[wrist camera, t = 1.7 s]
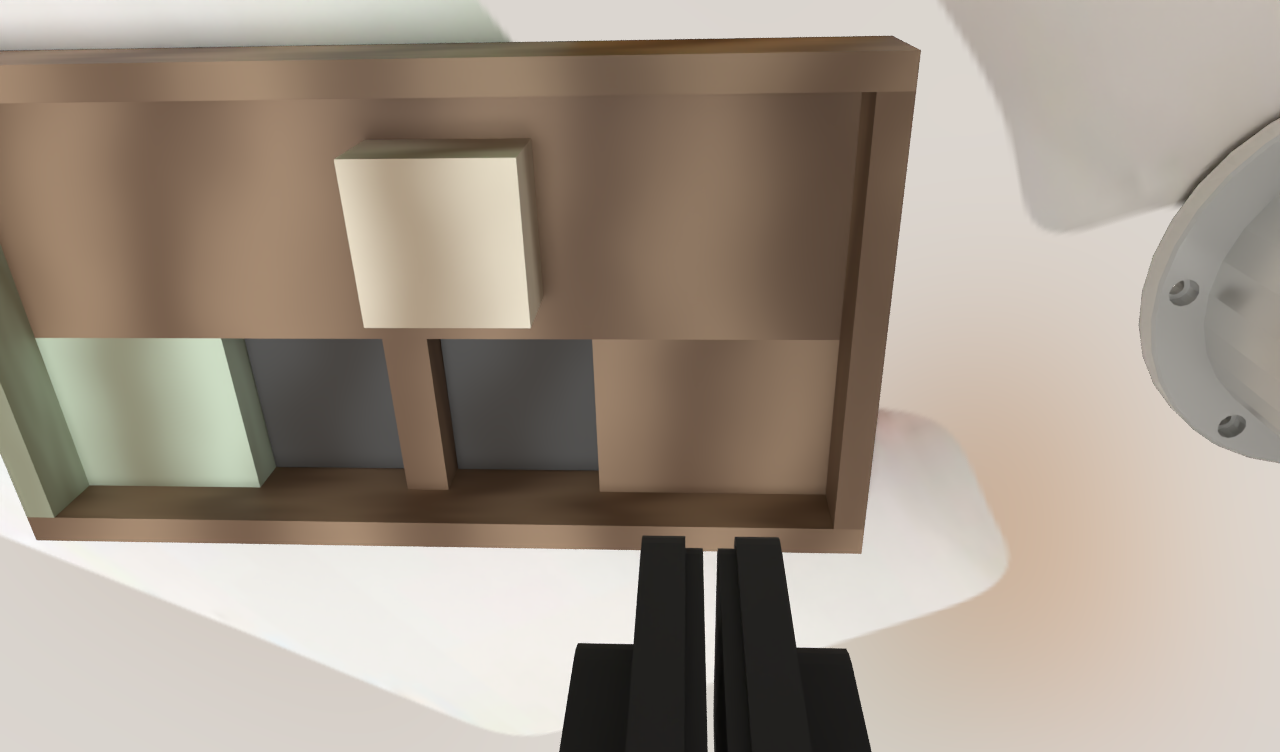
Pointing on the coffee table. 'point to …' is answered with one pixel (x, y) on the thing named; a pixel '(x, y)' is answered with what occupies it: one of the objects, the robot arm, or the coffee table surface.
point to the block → (443, 232)
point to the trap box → (451, 357)
